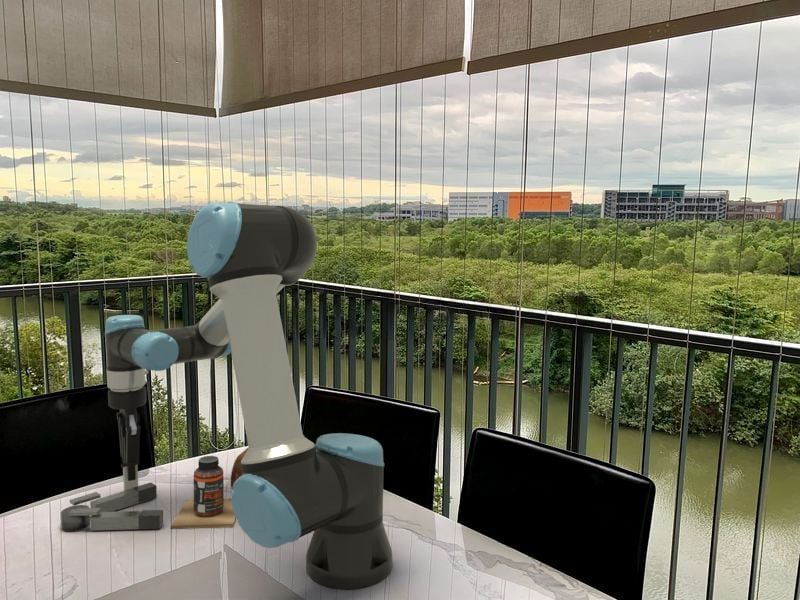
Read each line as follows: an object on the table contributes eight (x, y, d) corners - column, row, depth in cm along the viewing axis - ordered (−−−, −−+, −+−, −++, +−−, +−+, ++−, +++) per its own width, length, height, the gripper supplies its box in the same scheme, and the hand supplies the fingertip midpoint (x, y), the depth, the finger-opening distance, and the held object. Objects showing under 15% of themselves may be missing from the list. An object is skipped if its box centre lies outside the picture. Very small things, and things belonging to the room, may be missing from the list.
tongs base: (159, 530, 119) (159, 511, 118) (55, 533, 117) (54, 514, 116) (167, 517, 124) (167, 499, 124) (68, 520, 122) (67, 501, 122)
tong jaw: (75, 524, 120) (74, 503, 120) (69, 519, 122) (69, 499, 121) (156, 497, 133) (156, 478, 133) (151, 493, 135) (150, 475, 134)
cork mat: (232, 526, 120) (232, 524, 120) (170, 528, 119) (170, 525, 119) (242, 501, 132) (242, 498, 132) (186, 502, 131) (186, 500, 131)
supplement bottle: (205, 520, 122) (204, 466, 120) (188, 512, 125) (186, 459, 124) (229, 510, 126) (229, 458, 125) (212, 502, 130) (211, 451, 129)
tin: (254, 472, 149) (254, 439, 148) (266, 473, 148) (266, 440, 148) (229, 498, 134) (228, 461, 133) (242, 499, 134) (242, 462, 133)
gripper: (152, 391, 126) (155, 499, 129) (139, 378, 137) (143, 478, 140) (113, 396, 122) (117, 508, 125) (103, 383, 133) (107, 485, 135)
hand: (131, 492), depth 132 cm, fingers closed
